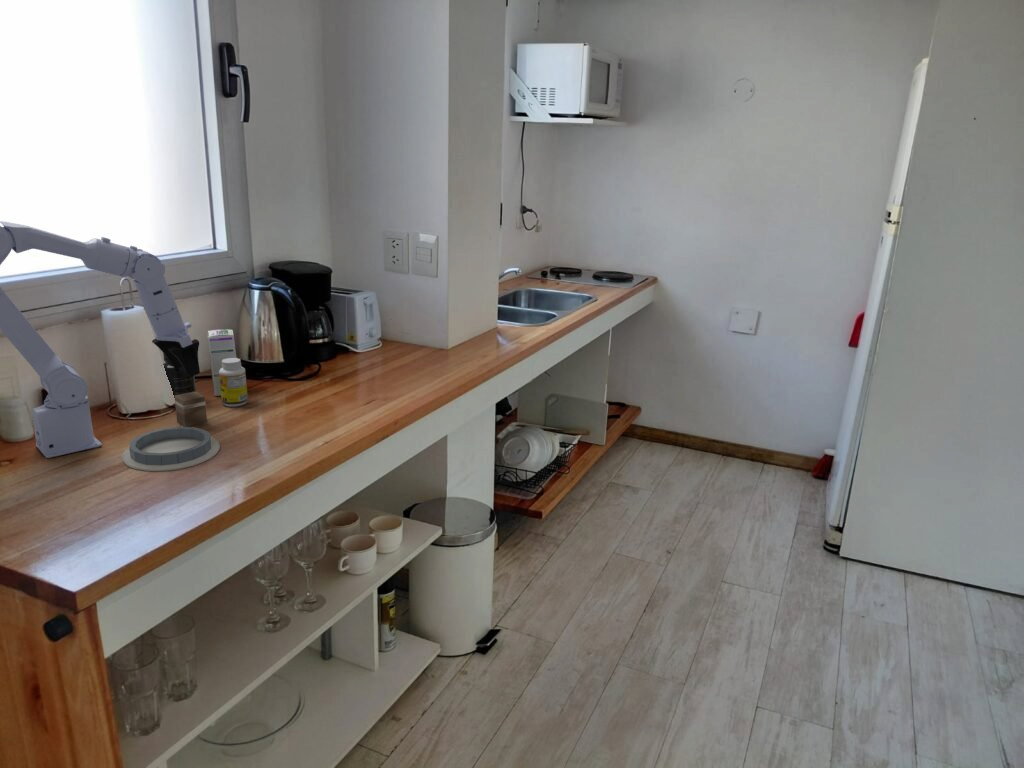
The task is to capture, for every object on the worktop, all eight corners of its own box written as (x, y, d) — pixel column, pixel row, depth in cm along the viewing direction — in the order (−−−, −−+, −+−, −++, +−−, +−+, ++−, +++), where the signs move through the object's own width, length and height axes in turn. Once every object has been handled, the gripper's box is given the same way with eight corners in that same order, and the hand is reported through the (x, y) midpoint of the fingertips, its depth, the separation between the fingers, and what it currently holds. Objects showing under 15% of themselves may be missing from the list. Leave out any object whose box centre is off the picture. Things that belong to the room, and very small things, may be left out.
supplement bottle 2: (222, 400, 173) (218, 357, 170) (248, 398, 175) (244, 355, 172) (221, 408, 168) (217, 364, 165) (247, 406, 170) (244, 362, 167)
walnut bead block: (185, 428, 156) (182, 401, 155) (177, 422, 160) (173, 395, 158) (207, 423, 159) (204, 396, 158) (198, 417, 163) (196, 391, 161)
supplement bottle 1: (159, 401, 171) (153, 350, 167) (189, 395, 176) (184, 345, 172) (171, 409, 166) (165, 357, 163) (202, 403, 171) (197, 351, 167)
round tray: (141, 479, 133) (139, 466, 132) (109, 450, 145) (107, 437, 144) (234, 455, 144) (233, 442, 144) (198, 429, 156) (197, 418, 155)
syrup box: (240, 394, 178) (235, 334, 173) (213, 396, 175) (207, 335, 171) (239, 386, 183) (234, 328, 178) (212, 389, 180) (207, 329, 176)
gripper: (195, 308, 147) (219, 370, 154) (167, 297, 157) (191, 355, 164) (160, 322, 143) (187, 385, 150) (134, 310, 153) (160, 369, 160)
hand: (187, 370), depth 156 cm, fingers open, 7 cm apart
